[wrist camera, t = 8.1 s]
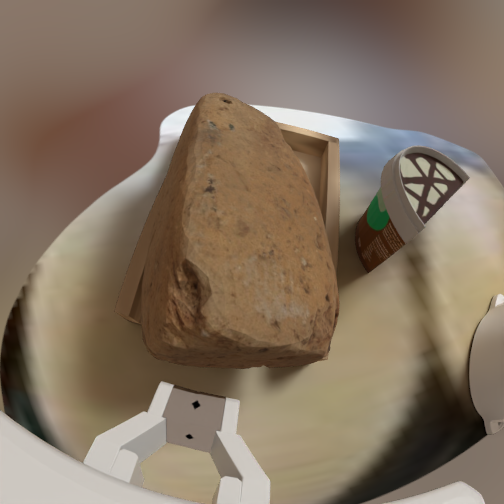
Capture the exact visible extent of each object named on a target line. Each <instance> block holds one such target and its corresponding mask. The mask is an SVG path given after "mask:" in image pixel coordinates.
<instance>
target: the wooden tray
mask: <svg viewBox="0 0 504 504" xmlns="http://www.w3.org/2000/svg"><path fill="white" fill-rule="evenodd" d="M275 123H276V124H277V125H278V126H279V128H280V130H281V133H282V136H283V137H284V140H285V142H286V143H287V144H288V145H289V146H290V147H291V148H292V150H293V153H294V154H295V155H296V156H297V157H298V158H299V161H300V163H301V165H302V166H303V168H304V170H305V172H306V174H307V176H308V178H309V181H310V183H311V185H312V187H313V190H314V192H315V195H316V198H317V201H318V204H319V206H320V210H321V214H322V217H323V221H324V225H325V230H326V234H327V238H328V242H329V247H330V251H331V256H332V261H333V265H334V269H335V274H336V276H337V261H338V242H339V212H340V162H339V139H338V138H335V137H332V136H328V135H325V134H321V133H318V132H314V131H310V130H307V129H303V128H299V127H295V126H291V125H287V124H283V123H278V122H275ZM166 176H167V175H166ZM165 179H166V178H165ZM164 183H165V180H164V182H163V184H162V186H161V188H160V191H159V193H158V195H157V197H156V200H155V202H154V204H153V206H152V209H151V211H150V213H149V216H148V218H147V221H146V223H145V226H144V228H143V230H142V233H141V235H140V238H139V241H138V243H137V246H136V248H135V251H134V254H133V256H132V259H131V262H130V265H129V268H128V270H127V273H126V276H125V279H124V282H123V285H122V288H121V291H120V294H119V297H118V300H117V304H116V307H115V310H114V312H116V313H117V314H119V315H121V316H122V317H124V318H125V319H127V320H128V321H131V322H134V323H138V324H141V325H142V321H141V299H142V283H143V276H144V269H145V263H146V258H147V254H148V249H149V241H150V236H151V232H152V227H153V224H154V222H155V218H156V213H157V209H158V206H159V201H160V197H161V193H162V190H163V187H164ZM322 360H328V355H327V356H326V357H324V358H322V359H320V360H319V361H322Z"/></svg>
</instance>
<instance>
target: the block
mask: <svg viewBox="0 0 504 504" xmlns="http://www.w3.org/2000/svg"><path fill="white" fill-rule="evenodd" d="M338 315H339V294H338V287H337V280H336V274H335V269H334V265H333V261H332V256H331V251H330V247H329V242H328V238H327V234H326V230H325V225H324V221H323V217H322V214H321V210H320V206H319V204H318V201H317V198H316V195H315V192H314V190H313V187H312V185H311V183H310V181H309V178H308V176H307V174H306V172H305V170H304V168H303V166H302V165H301V163H300V161H299V158H298V157H297V156H296V155H295V154H294V153H293V150H292V148H291V147H290V146H289V145H288V144H287V143H286V142H285V140H284V137H283V136H282V133H281V130H280V128H279V126H278V125H277V124H276V123H275V121H273V120H272V119H271V118H270V117H268V116H267V115H265V114H264V113H262V112H260V111H259V110H257V109H255V108H253V107H252V106H250V105H247V104H245V103H243V102H241V101H240V100H238V99H237V98H234V97H231V96H229V95H226V94H223V93H212V94H207V95H205V96H203V97H202V98H201V99H200V100H199V101H198V103H197V104H196V105H195V107H194V109H193V110H192V112H191V114H190V116H189V118H188V120H187V122H186V124H185V127H184V129H183V131H182V134H181V136H180V140H179V142H178V145H177V147H176V150H175V152H174V155H173V157H172V160H171V164H170V167H169V170H168V173H167V176H166V179H165V183H164V187H163V190H162V193H161V197H160V201H159V206H158V209H157V213H156V218H155V222H154V224H153V227H152V232H151V236H150V241H149V249H148V254H147V258H146V263H145V269H144V276H143V283H142V299H141V321H142V333H143V341H144V343H145V345H146V348H147V350H148V352H149V353H150V354H152V355H153V356H154V357H155V358H157V359H160V360H166V361H169V362H171V363H176V364H181V365H187V366H197V367H216V368H239V369H245V368H251V367H261V366H263V365H264V366H267V367H269V368H274V367H291V366H299V365H305V364H311V363H314V362H317V361H319V360H320V359H322V358H324V357H326V356H327V355H328V353H329V351H330V343H331V339H332V336H333V333H334V331H335V327H336V324H337V317H338Z"/></svg>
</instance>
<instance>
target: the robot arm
mask: <svg viewBox="0 0 504 504" xmlns="http://www.w3.org/2000/svg"><path fill="white" fill-rule="evenodd" d="M469 380H470V390H471V396H472V400H473V403H474V406H475V408H476V410H477V412H478V413H479V414H480V415H481V417H482V418H483V420H484V424H485V429H486V433H487V434H488V435H491V434H495V433H497V432H498V431H500V430H501V429H502V428H504V296H503V295H501V294H498V295H495V296H494V297H493V299H492V302H491V305H490V309H489V311H488V313H487V314H486V315H485V316H484V318H483V319H482V320H481V322H480V324H479V326H478V328H477V330H476V333H475V336H474V340H473V344H472V349H471V355H470V367H469ZM239 405H240V401H239V400H237V399H232V398H227V397H223V396H218V395H213V394H208V393H204V392H197V391H194V390H190V389H187V388H183V387H180V386H176V385H173V384H169V383H166V382H163V381H161V382H160V384H159V386H158V388H157V390H156V393H155V395H154V397H153V400H152V402H151V404H150V407H149V409H148V411H147V412H144V411H143V412H141V413H139V414H138V415H136V416H134V417H132V418H130V419H129V420H127V421H125V422H123V423H121V424H119V425H118V426H116V427H114V428H112V429H110V430H108V431H106V432H104V433H102V434H100V435H98V436H96V438H95V440H94V442H93V444H92V446H91V448H90V450H89V452H88V454H87V456H86V458H85V460H84V462H83V463H82V462H80V461H78V460H76V459H74V458H72V457H70V456H69V455H67V454H65V453H63V452H61V451H60V450H58V449H56V448H54V447H53V446H51V445H49V444H48V443H46V442H45V441H43V440H41V439H40V438H38V437H37V436H35V435H34V434H32V433H31V432H29V431H28V430H26V429H25V428H23V427H22V426H21V425H19V424H18V423H16V422H15V421H14V420H12V419H11V418H10V417H9V416H7V415H6V414H5V413H3V412H2V411H1V410H0V504H204V503H199V502H194V501H189V500H185V499H181V498H177V497H173V496H169V495H165V494H162V493H159V492H155V491H152V490H149V489H146V488H143V487H142V486H143V483H144V477H143V474H142V470H141V466H140V463H141V462H142V461H144V460H145V459H146V458H148V457H149V456H150V455H152V454H153V453H154V452H156V451H157V450H158V449H160V448H161V447H162V446H164V445H165V444H166V442H168V443H172V444H176V445H180V446H184V447H188V448H192V449H196V450H200V451H204V452H209V453H210V455H211V457H212V459H213V461H214V463H215V466H216V468H217V470H218V472H219V474H220V476H221V480H220V482H219V484H218V487H217V489H216V491H215V493H214V496H213V499H212V504H270V480H269V478H268V477H267V476H266V474H265V473H264V471H263V470H262V468H261V467H260V465H259V464H258V462H257V461H256V459H255V458H254V456H253V455H252V453H251V452H250V450H249V449H248V447H247V445H246V444H245V442H244V441H243V439H242V438H241V436H240V435H237V434H236V430H237V422H238V413H239ZM381 504H485V502H484V500H483V497H482V496H481V494H480V493H478V492H477V491H476V490H475V489H473V488H472V487H470V486H469V485H467V484H466V483H464V482H462V481H458V482H454V483H451V484H449V485H446V486H443V487H440V488H437V489H434V490H431V491H428V492H425V493H422V494H418V495H415V496H411V497H407V498H403V499H399V500H395V501H391V502H386V503H381Z"/></svg>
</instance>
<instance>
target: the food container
mask: <svg viewBox="0 0 504 504" xmlns="http://www.w3.org/2000/svg"><path fill="white" fill-rule="evenodd" d="M469 178H470V177H469V176H468V175H467V174H466V173H465V171H464V170H463V169H462V168H461V167H460V166H458V165H457V164H456V163H455V162H454V161H453V160H451V159H450V158H448V157H447V156H446V155H444V154H442V153H440V152H439V151H437V150H434V149H432V148H429V147H425V146H412V147H409V148H407V149H405V150H402V151H401V152H399V153H398V154H397V155H395V156H394V157H393V158H392V159H391V160H389V161H388V162H387V164H386V165H385V166H384V169H383V171H382V176H381V188H380V189H379V191H378V192H377V194H376V196H375V197H374V199H373V200H372V202H371V204H370V205H369V207H368V208H367V210H366V211H365V213H364V215H363V216H362V218H361V219H360V221H359V223H358V225H357V228H356V232H355V242H356V248H357V252H358V255H359V258H360V260H361V262H362V264H363V266H364V267H365V269H366V270H367V272H368V273H369V272H371V271H372V270H373V269H375V268H376V267H377V266H378V265H380V264H381V263H382V262H384V261H385V260H386V259H387V258H389V257H390V256H391V255H393V254H394V253H395V252H396V251H397V250H399V249H400V248H401V247H402V246H404V245H405V244H407V243H408V242H409V241H410V240H411V239H413V238H414V237H415V236H416V235H417V234H418V233H419V232H420V231H422V230H423V229H424V228H425V227H426V226H425V223H426V222H427V221H428V220H429V219H430V218H431V217H432V216H433V215H435V213H436V212H437V211H438V210H439V209H440V208H441V207H442V206H443V205H444V203H445V202H446V201H448V200H449V198H450V197H451V196H452V195H453V194H454V193H455V192H456V191H457V190H458V189H459V188H460V187H461V186H462V185H463V184H464V183H465V182H466V181H467V180H468V179H469Z"/></svg>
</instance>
